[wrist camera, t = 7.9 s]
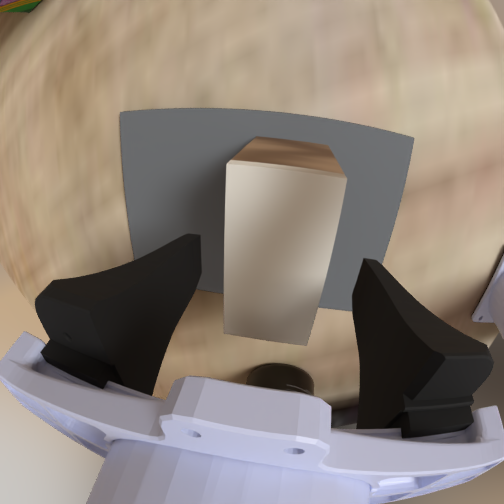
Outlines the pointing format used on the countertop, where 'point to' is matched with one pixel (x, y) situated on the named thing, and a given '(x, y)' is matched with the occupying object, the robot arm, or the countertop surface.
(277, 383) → the supplement bottle
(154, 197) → the slate mat
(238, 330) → the beige rectangular block
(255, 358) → the countertop surface
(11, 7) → the chalk box
